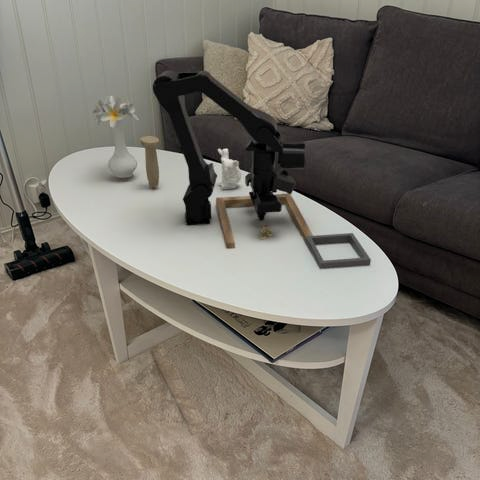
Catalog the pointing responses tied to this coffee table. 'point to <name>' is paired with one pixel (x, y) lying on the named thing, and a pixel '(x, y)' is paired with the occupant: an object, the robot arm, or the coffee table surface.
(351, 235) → the bin
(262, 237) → the dice set
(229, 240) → the wooden u-frame
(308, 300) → the coffee table surface
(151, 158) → the handle
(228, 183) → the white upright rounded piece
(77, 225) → the coffee table surface
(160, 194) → the coffee table surface
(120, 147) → the flower vase
